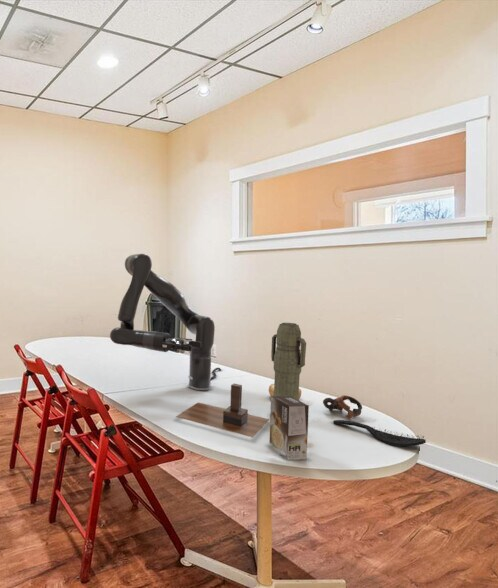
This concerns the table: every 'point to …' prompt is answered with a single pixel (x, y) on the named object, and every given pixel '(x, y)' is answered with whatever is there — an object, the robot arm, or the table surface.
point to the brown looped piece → (343, 405)
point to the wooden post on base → (235, 408)
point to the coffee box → (289, 426)
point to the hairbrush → (386, 435)
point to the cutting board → (221, 419)
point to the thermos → (288, 359)
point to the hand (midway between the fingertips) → (196, 346)
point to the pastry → (271, 390)
